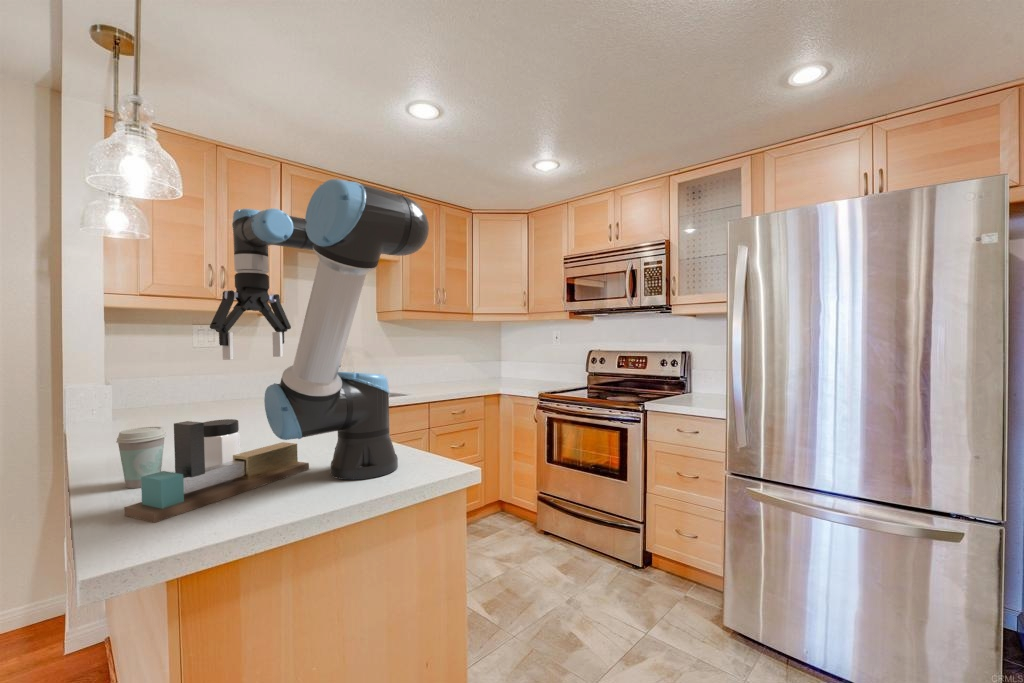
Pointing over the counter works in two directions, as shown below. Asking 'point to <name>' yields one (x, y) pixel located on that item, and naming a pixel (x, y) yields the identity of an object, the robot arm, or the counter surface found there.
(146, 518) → the walnut board
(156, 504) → the teal socket
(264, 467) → the brass sleeve
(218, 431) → the jar
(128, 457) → the coffee cup
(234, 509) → the counter surface
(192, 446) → the steel bar
